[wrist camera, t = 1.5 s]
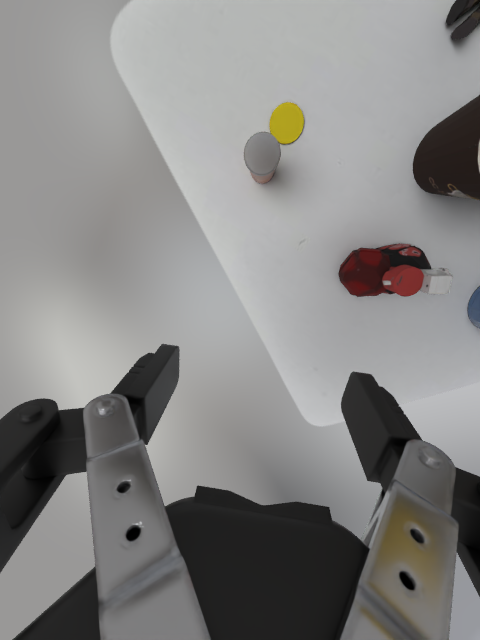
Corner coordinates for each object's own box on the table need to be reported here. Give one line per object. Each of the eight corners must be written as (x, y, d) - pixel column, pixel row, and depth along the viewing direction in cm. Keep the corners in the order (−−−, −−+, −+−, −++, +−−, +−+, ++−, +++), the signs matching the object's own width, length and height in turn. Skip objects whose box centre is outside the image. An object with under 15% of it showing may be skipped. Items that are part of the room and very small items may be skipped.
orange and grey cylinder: (250, 155, 26) (245, 131, 18) (276, 156, 26) (282, 132, 18) (249, 184, 27) (242, 173, 19) (273, 185, 27) (278, 175, 19)
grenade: (401, 276, 29) (463, 306, 20) (329, 288, 31) (358, 323, 22) (402, 231, 28) (471, 243, 18) (326, 247, 29) (355, 265, 20)
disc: (283, 94, 24) (284, 93, 24) (310, 118, 24) (311, 117, 24) (262, 129, 25) (262, 129, 25) (288, 151, 25) (288, 151, 25)
